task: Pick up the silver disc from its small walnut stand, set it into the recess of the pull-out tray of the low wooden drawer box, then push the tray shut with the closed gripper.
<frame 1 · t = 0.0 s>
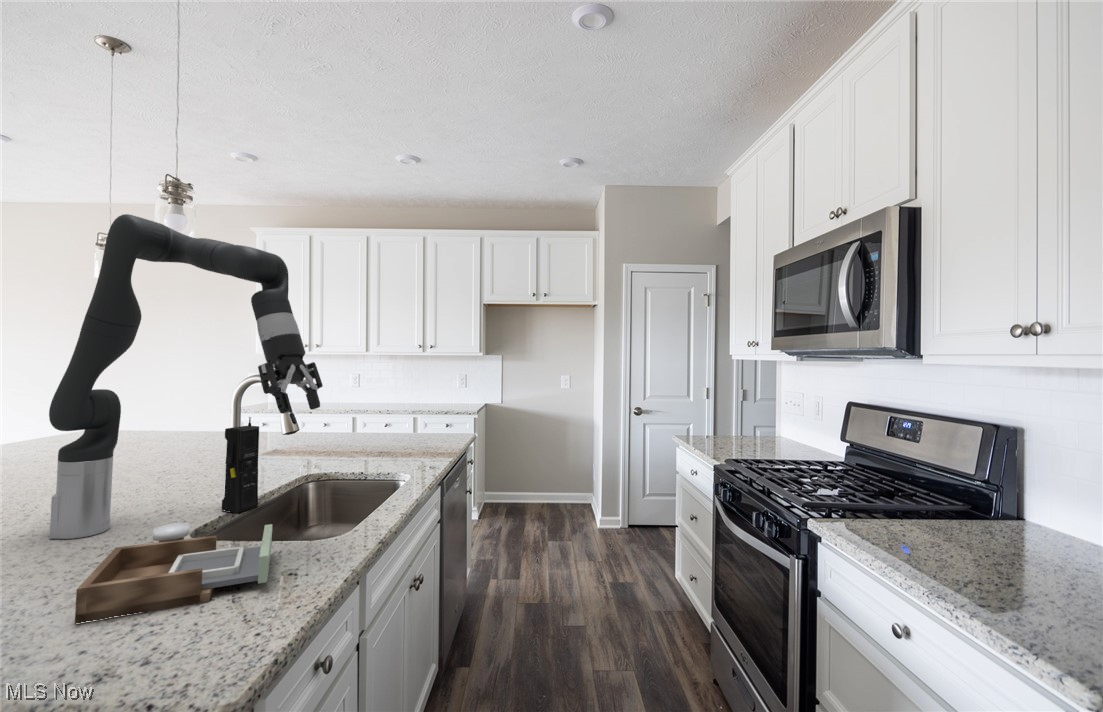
hand: (301, 410, 99), 31 cm above the countertop, tool tilted 20°, fingers open, 8 cm apart
disc: (171, 535, 97), point 5 cm above the countertop, touching stand
portable radio: (239, 510, 129), on the countertop
wooden drawer box: (159, 588, 85), on the countertop
tray: (221, 557, 89), point 4 cm above the countertop, slide at 8.0 cm
stand: (170, 559, 96), on the countertop
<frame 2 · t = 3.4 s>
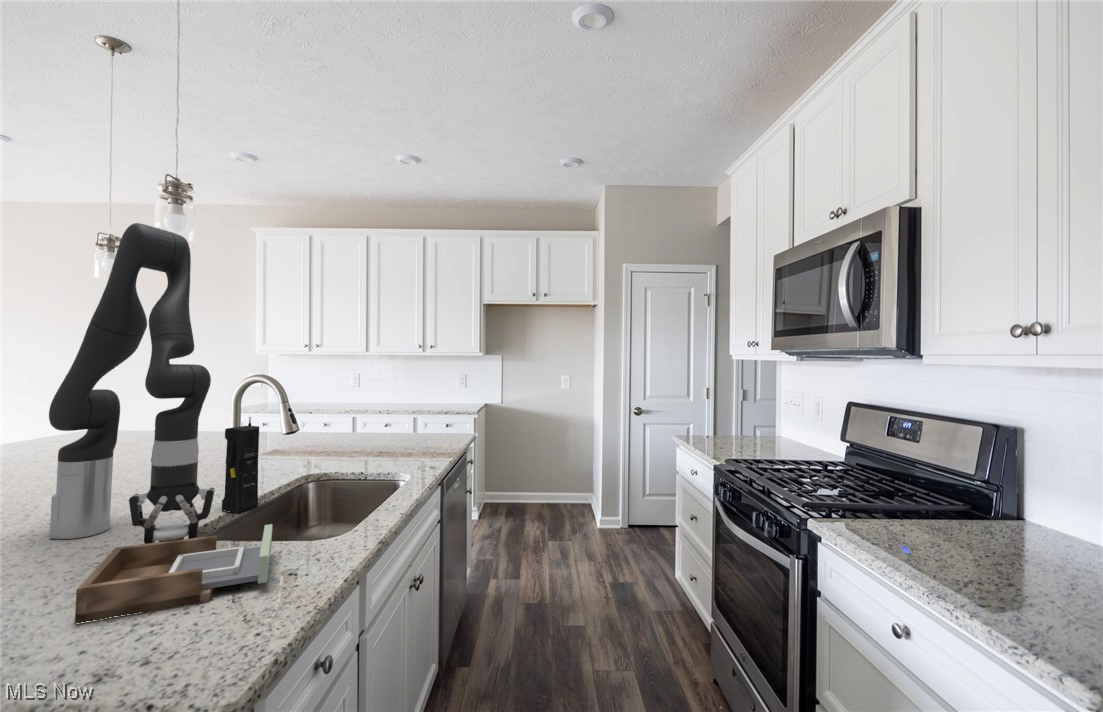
hand: (171, 542, 97), 4 cm above the countertop, tool pointing down, fingers closed on disc, 6 cm apart
disc: (171, 535, 97), point 5 cm above the countertop, touching gripper, stand
everything else where it was.
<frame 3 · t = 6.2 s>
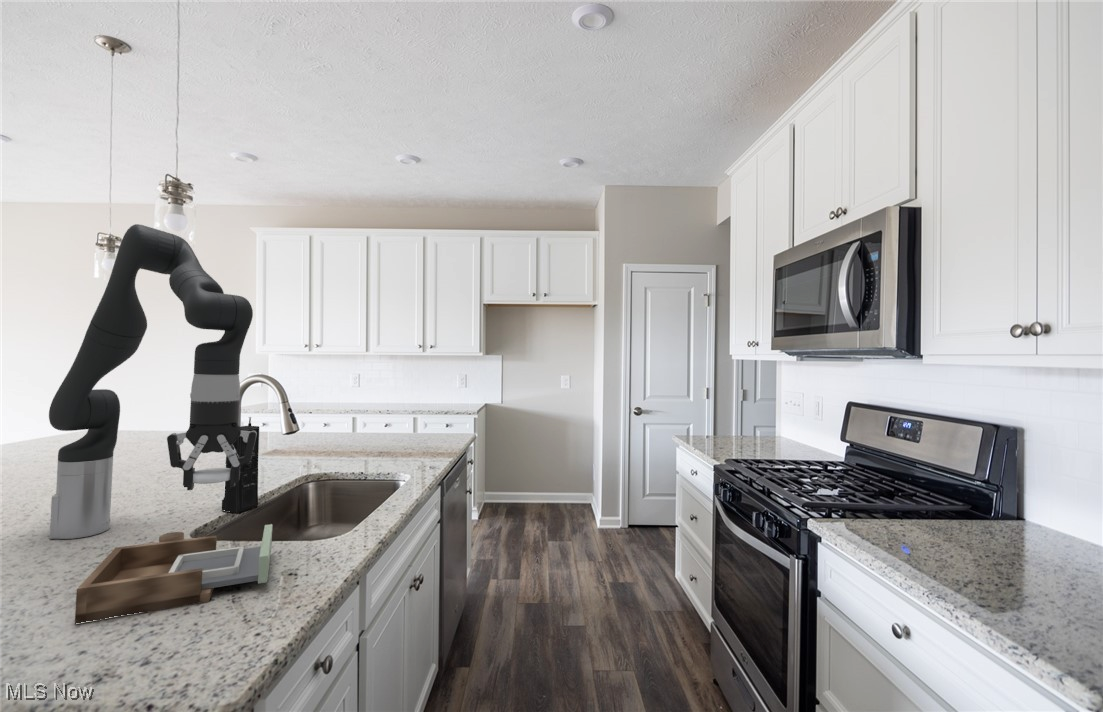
hand: (211, 487, 88), 18 cm above the countertop, tool pointing down, fingers closed on disc, 6 cm apart
disc: (212, 479, 88), point 19 cm above the countertop, touching gripper
everything else where it was.
when the fingers open (4 cm above the countertop, at t = 9.3 s): disc drops 2 cm, resting on tray.
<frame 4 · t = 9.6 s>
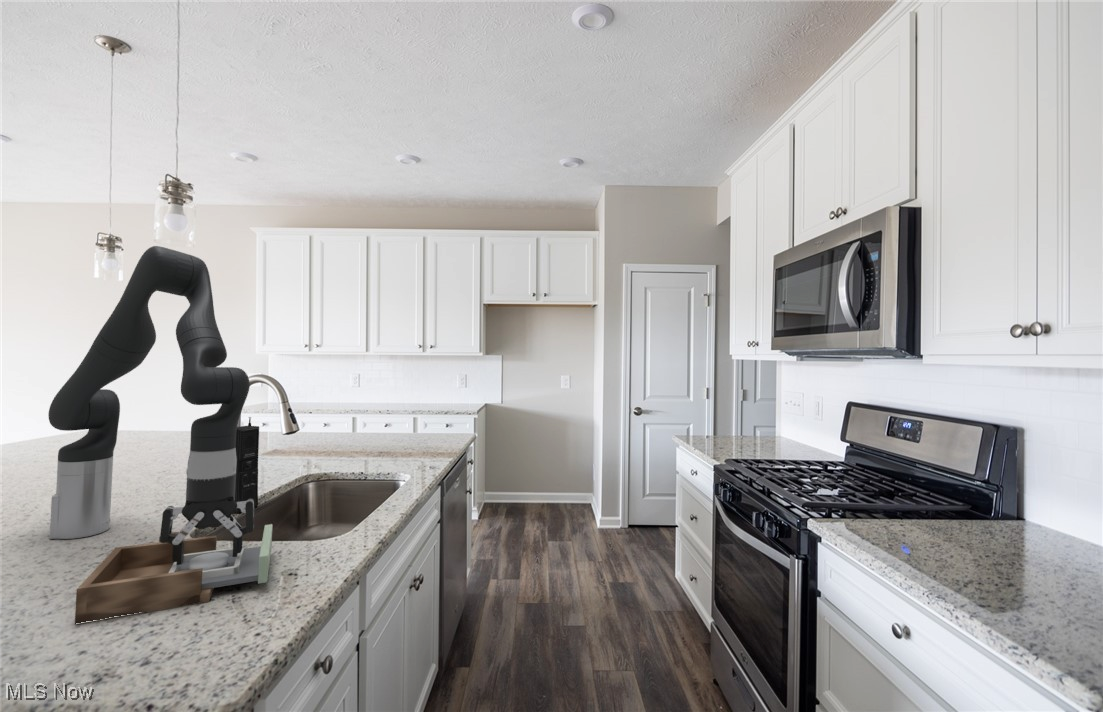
hand: (208, 559, 88), 4 cm above the countertop, tool pointing down, fingers open, 8 cm apart
disc: (208, 567, 88), point 3 cm above the countertop, touching tray
tray: (221, 557, 89), point 4 cm above the countertop, slide at 8.0 cm, touching disc
everything else where it was.
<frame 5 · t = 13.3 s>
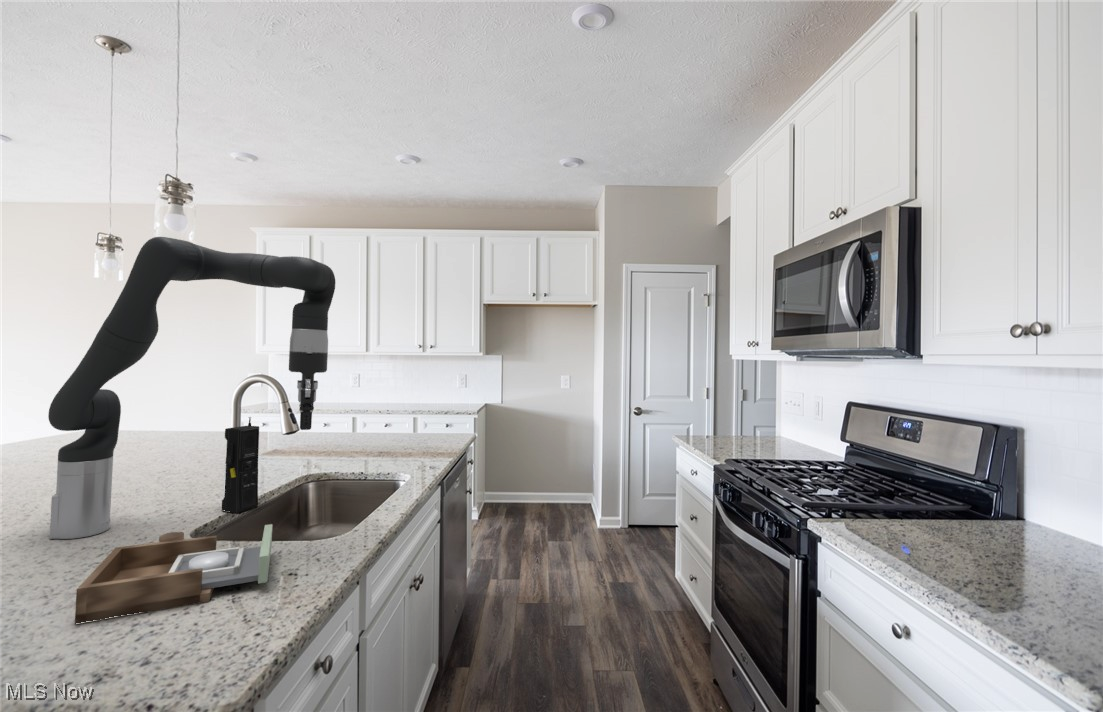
hand: (305, 429, 103), 27 cm above the countertop, tool pointing down, fingers closed
nothing on the countertop moved.
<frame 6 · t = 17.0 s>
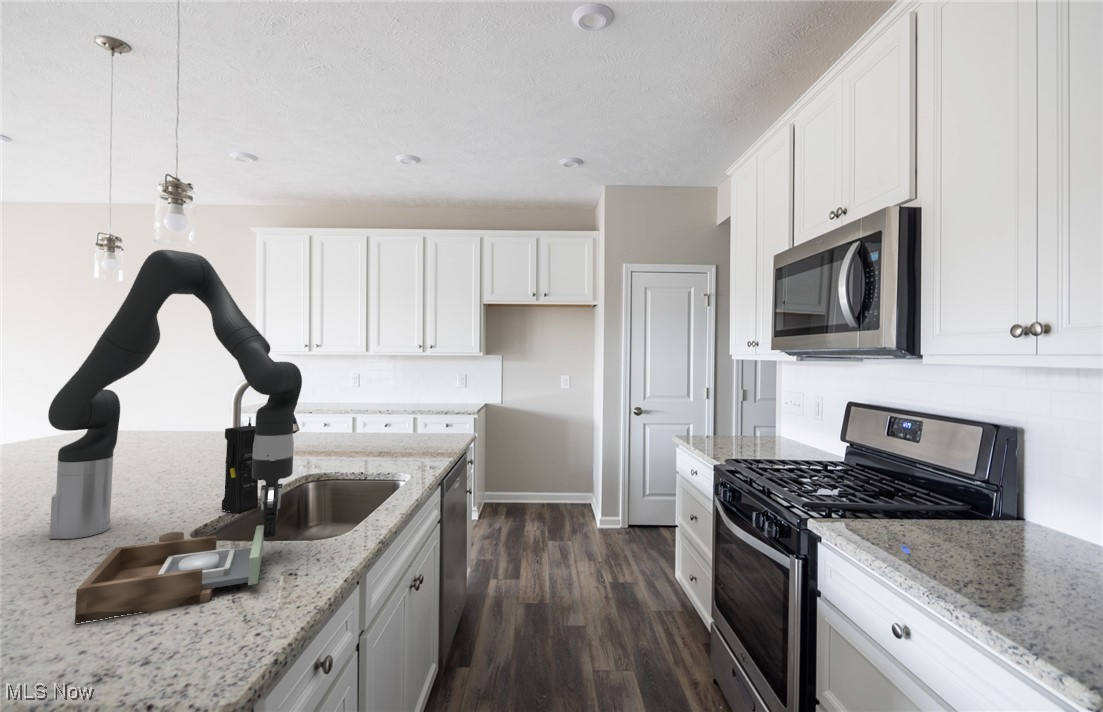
hand: (269, 535, 100), 4 cm above the countertop, tool pointing down, fingers closed
disc: (198, 568, 87), point 3 cm above the countertop, touching tray
tray: (211, 558, 88), point 4 cm above the countertop, slide at 6.5 cm, touching disc, gripper
everything else where it was.
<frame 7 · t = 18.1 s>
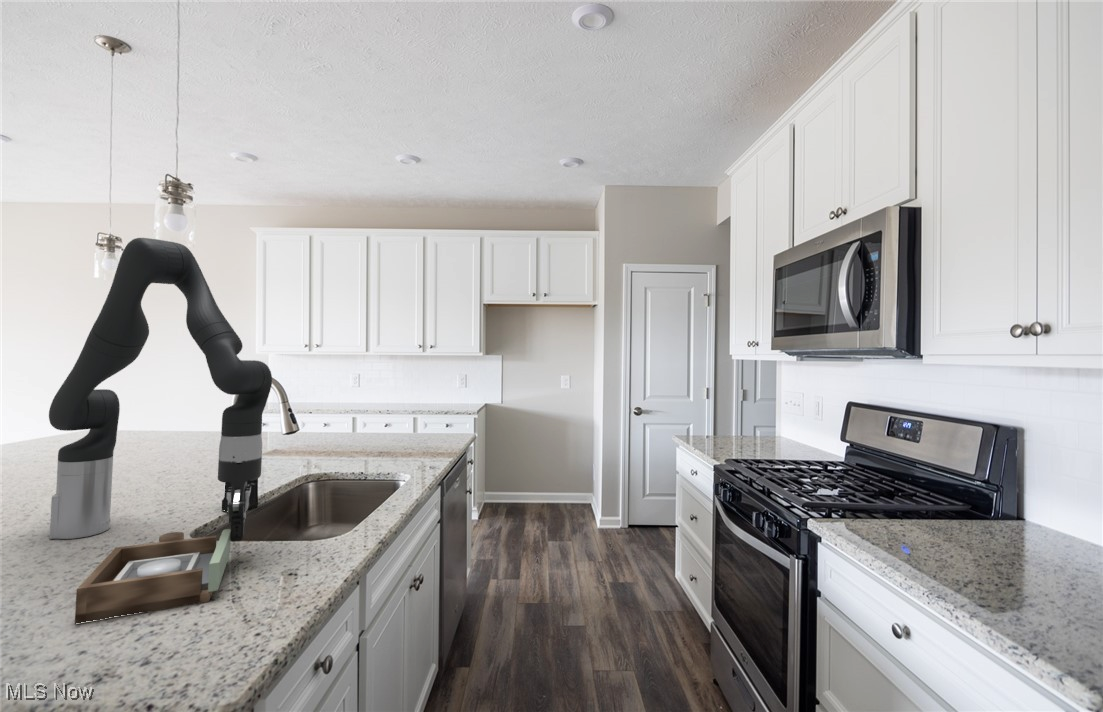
hand: (236, 539, 97), 4 cm above the countertop, tool pointing down, fingers closed
disc: (158, 574, 85), point 3 cm above the countertop, touching tray
tray: (172, 564, 86), point 4 cm above the countertop, slide at 0.7 cm, touching disc, gripper
everything else where it was.
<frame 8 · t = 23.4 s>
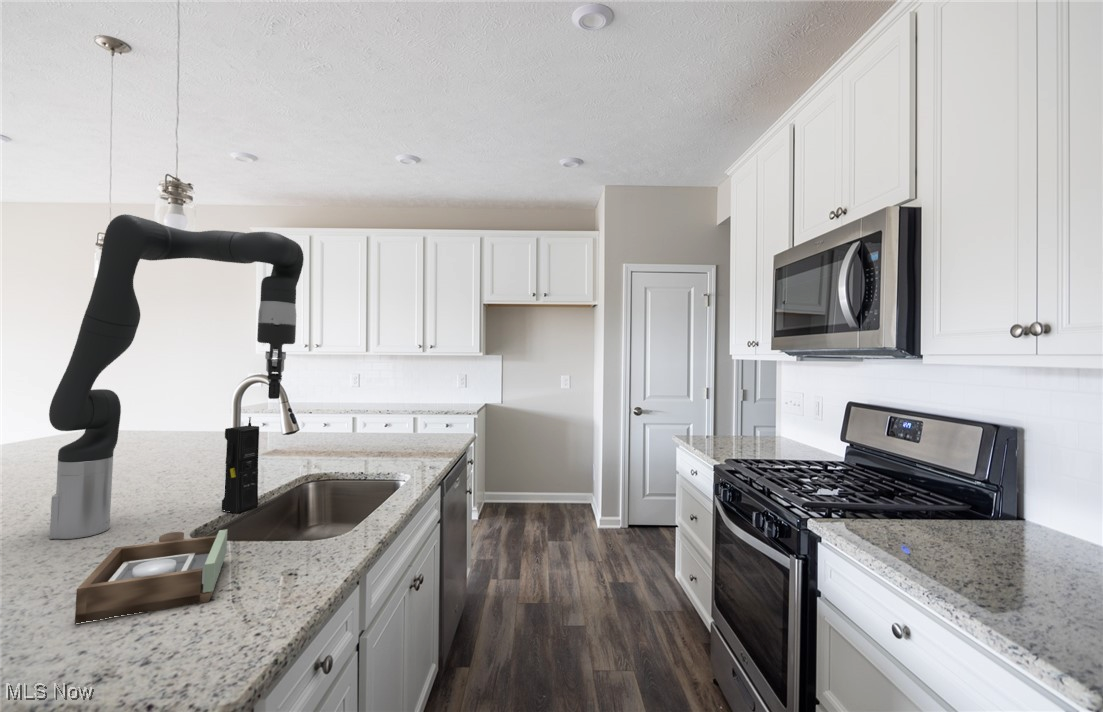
hand: (273, 398, 107), 33 cm above the countertop, tool pointing down, fingers closed
tray: (167, 565, 85), point 4 cm above the countertop, slide at 0.0 cm, touching disc
everything else where it was.
at the end: tray slide at 0.0 cm; disc inside the target area on the wooden drawer box (0.1 cm from its centre), point 2.7 cm above the wooden drawer box's base; the gripper is holding nothing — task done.
